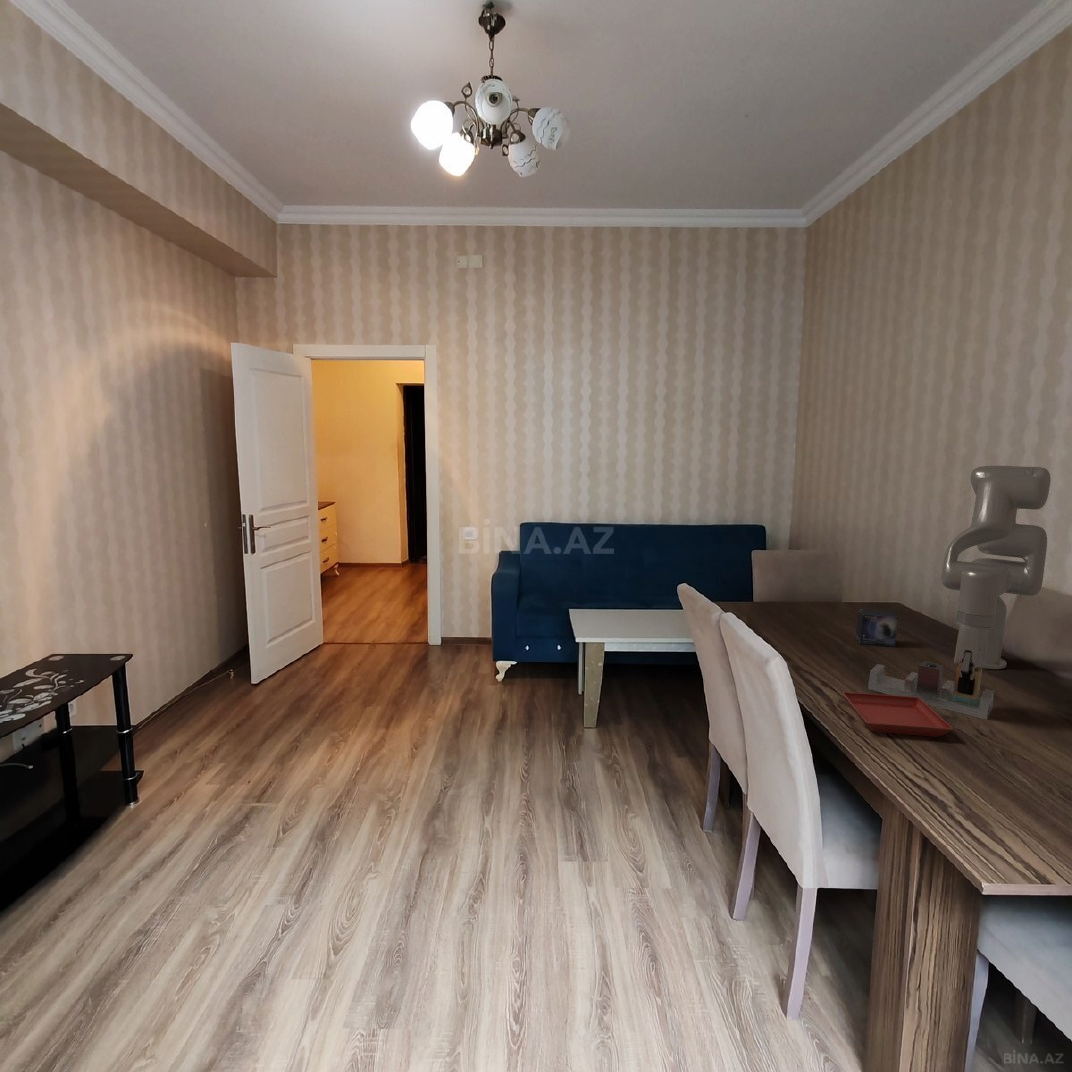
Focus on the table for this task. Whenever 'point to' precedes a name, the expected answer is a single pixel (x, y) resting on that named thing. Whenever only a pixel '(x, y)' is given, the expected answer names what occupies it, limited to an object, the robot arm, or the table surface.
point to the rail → (943, 700)
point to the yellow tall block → (976, 685)
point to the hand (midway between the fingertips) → (967, 689)
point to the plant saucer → (897, 714)
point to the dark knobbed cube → (929, 678)
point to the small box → (876, 628)
